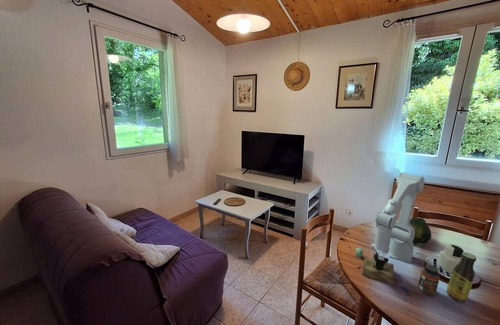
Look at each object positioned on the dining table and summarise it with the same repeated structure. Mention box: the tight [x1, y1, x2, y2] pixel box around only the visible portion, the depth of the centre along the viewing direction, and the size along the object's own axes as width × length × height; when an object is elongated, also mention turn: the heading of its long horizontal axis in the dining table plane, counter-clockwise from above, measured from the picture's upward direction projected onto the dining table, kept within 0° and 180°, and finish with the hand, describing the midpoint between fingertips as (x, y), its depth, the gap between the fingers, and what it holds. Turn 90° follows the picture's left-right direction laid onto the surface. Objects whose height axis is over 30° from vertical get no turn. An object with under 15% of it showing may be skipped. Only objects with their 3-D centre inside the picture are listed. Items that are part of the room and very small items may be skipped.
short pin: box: [355, 247, 364, 259], centre depth 115 cm, size 3×3×4 cm
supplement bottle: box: [417, 264, 440, 297], centre depth 92 cm, size 6×6×11 cm
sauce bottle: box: [446, 251, 477, 303], centre depth 88 cm, size 6×6×20 cm
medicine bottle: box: [437, 244, 464, 274], centre depth 105 cm, size 7×7×12 cm
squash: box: [410, 217, 432, 245], centre depth 128 cm, size 14×15×15 cm
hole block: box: [362, 255, 395, 285], centre depth 103 cm, size 12×10×4 cm
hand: (378, 264), depth 103 cm, fingers open, 7 cm apart
